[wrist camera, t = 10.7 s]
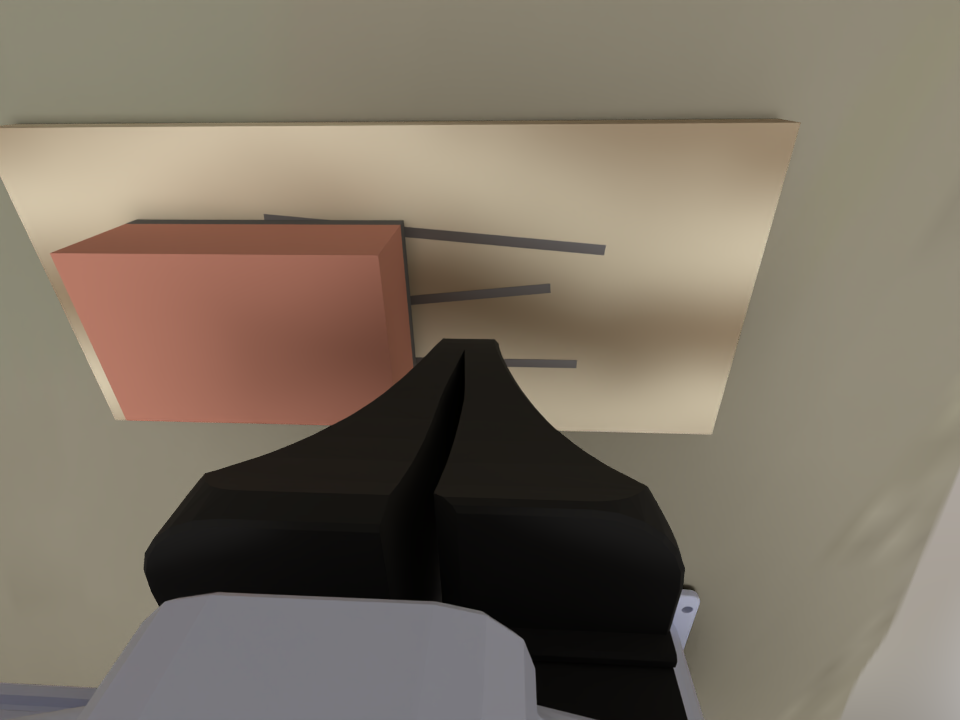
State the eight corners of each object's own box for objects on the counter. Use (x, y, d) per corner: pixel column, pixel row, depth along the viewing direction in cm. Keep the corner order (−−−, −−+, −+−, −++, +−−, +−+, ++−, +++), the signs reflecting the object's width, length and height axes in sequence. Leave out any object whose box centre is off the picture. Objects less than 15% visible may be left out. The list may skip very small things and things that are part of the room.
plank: (700, 414, 19) (711, 434, 17) (136, 401, 20) (115, 420, 19) (778, 118, 14) (801, 122, 12) (15, 124, 15) (-24, 128, 14)
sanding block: (416, 368, 17) (398, 426, 14) (188, 364, 17) (126, 420, 14) (403, 220, 14) (378, 255, 11) (136, 219, 15) (49, 253, 12)
